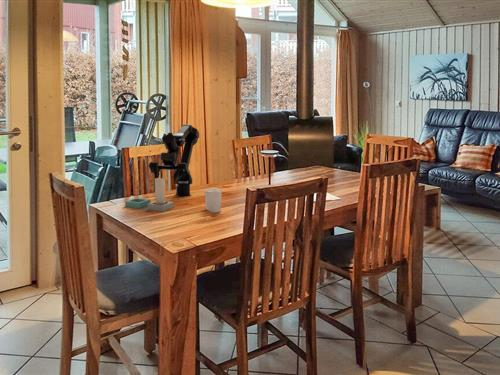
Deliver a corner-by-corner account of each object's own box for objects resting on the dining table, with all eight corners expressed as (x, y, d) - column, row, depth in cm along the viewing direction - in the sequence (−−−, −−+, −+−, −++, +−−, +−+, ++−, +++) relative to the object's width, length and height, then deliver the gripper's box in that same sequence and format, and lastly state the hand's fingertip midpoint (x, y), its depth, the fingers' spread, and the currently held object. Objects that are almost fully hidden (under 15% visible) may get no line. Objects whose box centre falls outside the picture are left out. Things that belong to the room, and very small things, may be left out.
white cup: (215, 213, 237) (215, 192, 235) (201, 211, 241) (201, 190, 239) (225, 210, 244) (225, 189, 242) (211, 208, 248) (211, 187, 246)
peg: (164, 206, 245) (163, 177, 242) (166, 209, 241) (165, 179, 238) (155, 207, 244) (154, 178, 241) (156, 209, 240) (155, 180, 237)
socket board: (175, 208, 246) (175, 201, 245) (162, 214, 236) (162, 206, 235) (137, 204, 254) (136, 197, 254) (122, 209, 245) (122, 201, 244)
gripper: (149, 145, 250) (141, 171, 241) (186, 146, 246) (179, 173, 238) (155, 159, 259) (148, 185, 251) (191, 160, 256) (185, 186, 247)
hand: (164, 182), depth 246 cm, fingers open, 9 cm apart
